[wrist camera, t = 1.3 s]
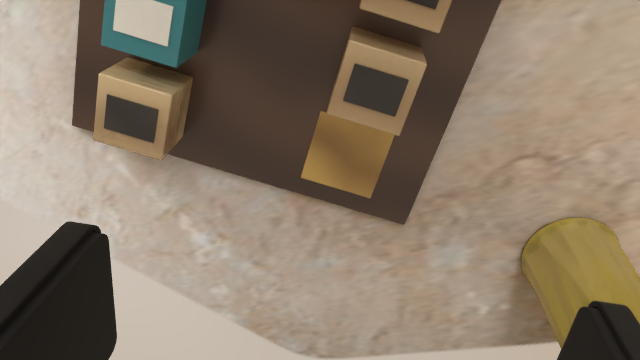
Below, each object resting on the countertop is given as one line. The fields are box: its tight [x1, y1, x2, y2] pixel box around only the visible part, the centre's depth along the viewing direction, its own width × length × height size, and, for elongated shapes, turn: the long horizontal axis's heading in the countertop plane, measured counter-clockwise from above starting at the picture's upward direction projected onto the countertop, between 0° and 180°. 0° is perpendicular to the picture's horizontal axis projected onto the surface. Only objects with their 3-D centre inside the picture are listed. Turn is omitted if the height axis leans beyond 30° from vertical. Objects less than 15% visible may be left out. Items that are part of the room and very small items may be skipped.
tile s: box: [101, 0, 207, 68], centre depth 27 cm, size 4×4×4 cm
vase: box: [522, 218, 640, 349], centre depth 28 cm, size 6×6×14 cm
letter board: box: [72, 0, 501, 225], centre depth 30 cm, size 18×22×1 cm
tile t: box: [327, 26, 427, 136], centre depth 28 cm, size 4×4×4 cm
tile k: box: [93, 57, 193, 160], centre depth 30 cm, size 4×4×4 cm
